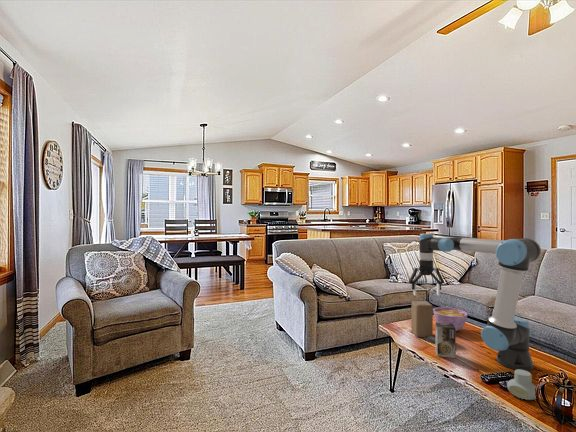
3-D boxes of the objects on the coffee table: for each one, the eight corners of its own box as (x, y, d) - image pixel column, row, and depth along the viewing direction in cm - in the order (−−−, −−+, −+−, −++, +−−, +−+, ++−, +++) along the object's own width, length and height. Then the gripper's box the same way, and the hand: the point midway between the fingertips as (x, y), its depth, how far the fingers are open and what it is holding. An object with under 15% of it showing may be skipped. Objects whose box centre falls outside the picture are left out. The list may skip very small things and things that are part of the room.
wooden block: (433, 337, 199) (433, 305, 198) (416, 337, 199) (416, 305, 198) (426, 331, 209) (426, 300, 208) (410, 331, 209) (411, 300, 208)
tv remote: (455, 347, 186) (455, 343, 186) (451, 349, 183) (451, 345, 183) (428, 338, 198) (428, 335, 198) (424, 340, 195) (424, 336, 195)
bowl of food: (426, 325, 219) (426, 308, 219) (450, 322, 225) (450, 306, 225) (449, 336, 200) (449, 318, 200) (474, 333, 206) (475, 314, 206)
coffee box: (453, 353, 177) (453, 323, 177) (455, 358, 171) (456, 327, 171) (434, 351, 180) (435, 322, 179) (436, 356, 174) (437, 326, 173)
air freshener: (503, 393, 139) (504, 369, 139) (512, 387, 143) (512, 364, 143) (534, 406, 130) (534, 381, 130) (542, 399, 134) (542, 375, 134)
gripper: (444, 258, 198) (445, 293, 198) (403, 258, 199) (403, 293, 199) (450, 260, 191) (450, 296, 191) (406, 260, 192) (407, 296, 192)
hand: (426, 295), depth 195 cm, fingers open, 13 cm apart
